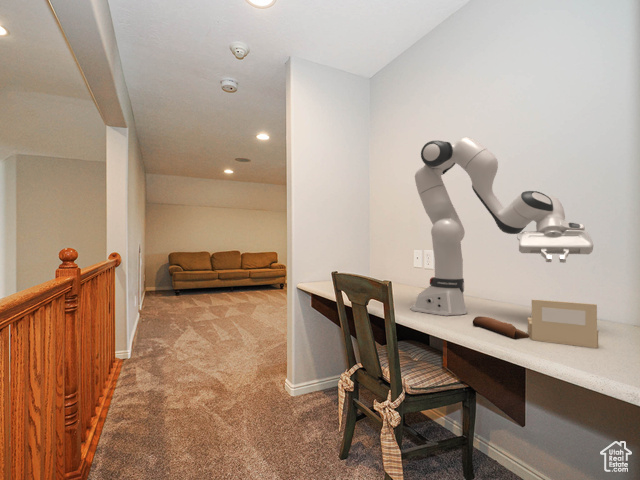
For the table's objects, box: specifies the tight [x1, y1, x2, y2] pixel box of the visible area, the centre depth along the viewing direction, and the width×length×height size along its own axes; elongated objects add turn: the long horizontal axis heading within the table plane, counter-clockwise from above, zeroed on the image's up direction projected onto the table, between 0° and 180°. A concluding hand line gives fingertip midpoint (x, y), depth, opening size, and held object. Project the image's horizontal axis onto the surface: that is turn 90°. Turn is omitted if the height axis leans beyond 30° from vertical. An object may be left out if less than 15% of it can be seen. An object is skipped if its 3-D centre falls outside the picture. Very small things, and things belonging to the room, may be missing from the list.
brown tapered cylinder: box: [472, 315, 530, 340], centre depth 106 cm, size 18×7×7 cm
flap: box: [531, 298, 598, 349], centre depth 93 cm, size 15×1×12 cm, turn 60°
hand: (555, 261), depth 104 cm, fingers open, 2 cm apart
